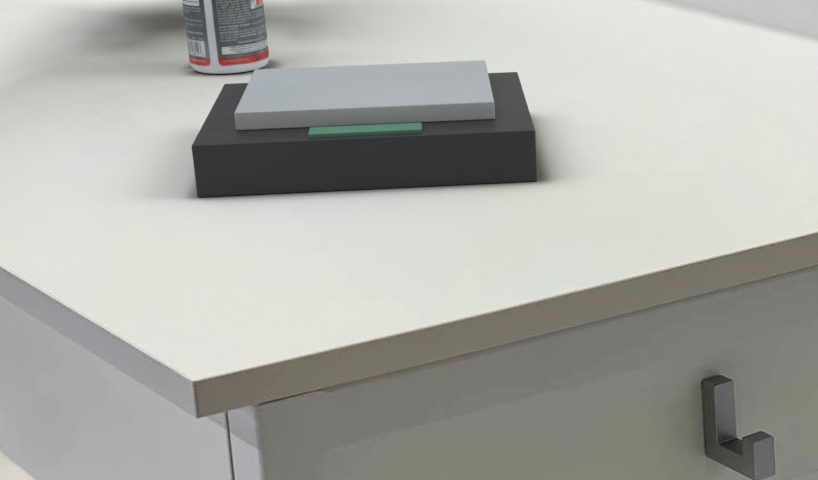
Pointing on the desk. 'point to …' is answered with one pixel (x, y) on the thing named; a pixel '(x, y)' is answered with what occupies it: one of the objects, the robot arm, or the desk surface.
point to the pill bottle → (226, 35)
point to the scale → (365, 130)
